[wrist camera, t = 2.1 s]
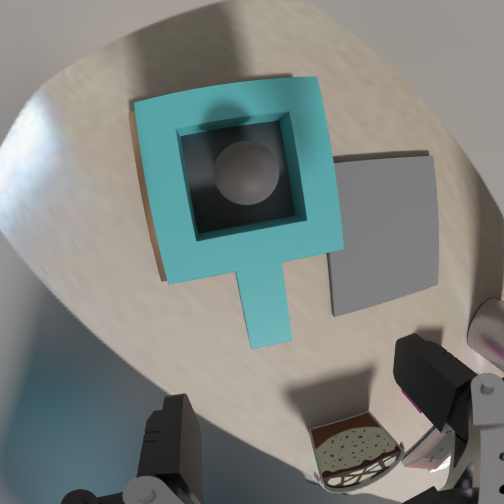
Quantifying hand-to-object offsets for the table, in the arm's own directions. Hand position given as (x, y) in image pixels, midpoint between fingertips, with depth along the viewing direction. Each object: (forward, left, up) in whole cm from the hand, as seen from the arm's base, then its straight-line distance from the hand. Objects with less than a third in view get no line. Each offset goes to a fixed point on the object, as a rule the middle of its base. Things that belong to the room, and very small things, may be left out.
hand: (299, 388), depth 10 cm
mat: (-16, 0, -20) cm, 25 cm away
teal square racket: (0, -5, -10) cm, 11 cm away
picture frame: (-37, +47, -20) cm, 63 cm away
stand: (0, -8, -20) cm, 21 cm away
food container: (-9, +29, -20) cm, 37 cm away
